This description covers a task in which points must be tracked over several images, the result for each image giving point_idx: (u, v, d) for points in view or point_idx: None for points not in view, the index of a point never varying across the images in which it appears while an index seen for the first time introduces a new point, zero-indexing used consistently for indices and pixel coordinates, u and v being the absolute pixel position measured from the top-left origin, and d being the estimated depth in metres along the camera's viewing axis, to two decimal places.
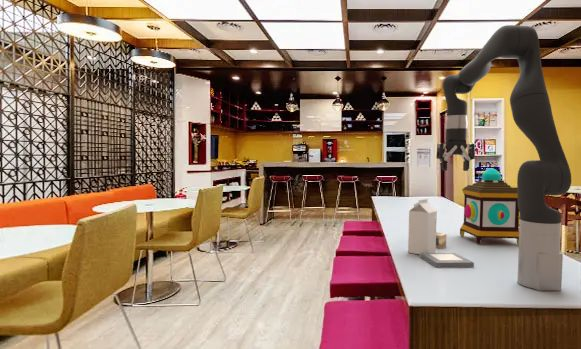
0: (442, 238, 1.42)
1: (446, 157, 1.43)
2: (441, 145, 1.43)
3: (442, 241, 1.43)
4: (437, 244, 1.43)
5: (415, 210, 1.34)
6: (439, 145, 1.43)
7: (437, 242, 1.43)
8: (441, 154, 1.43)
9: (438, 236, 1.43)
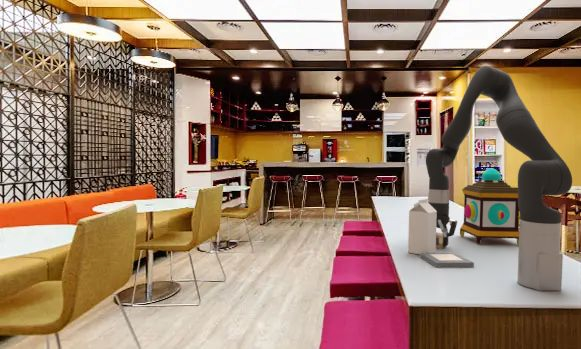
0: (442, 238, 1.42)
1: None
2: None
3: (442, 241, 1.43)
4: (437, 244, 1.43)
5: (415, 210, 1.34)
6: (456, 223, 1.41)
7: (437, 242, 1.43)
8: None
9: (438, 236, 1.43)
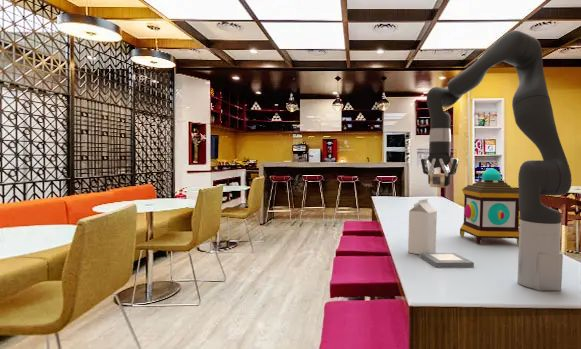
0: (444, 177, 1.42)
1: None
2: None
3: (444, 180, 1.42)
4: (439, 183, 1.42)
5: (415, 210, 1.34)
6: (457, 161, 1.40)
7: (439, 181, 1.42)
8: None
9: (440, 175, 1.42)
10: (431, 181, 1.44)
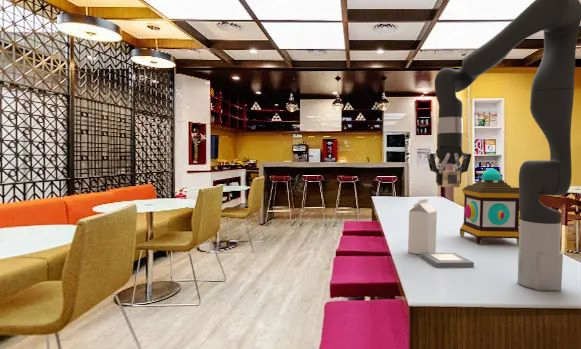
0: None
1: None
2: None
3: None
4: (455, 182, 1.20)
5: (415, 210, 1.34)
6: None
7: (455, 179, 1.20)
8: None
9: (456, 172, 1.20)
10: (446, 180, 1.20)
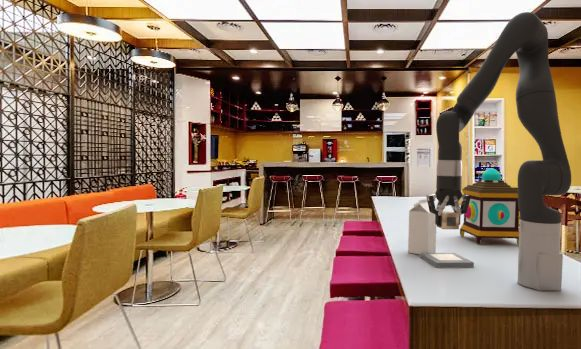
0: None
1: None
2: None
3: None
4: (454, 224, 1.21)
5: (415, 210, 1.34)
6: None
7: (454, 222, 1.21)
8: None
9: (455, 215, 1.21)
10: (445, 222, 1.21)
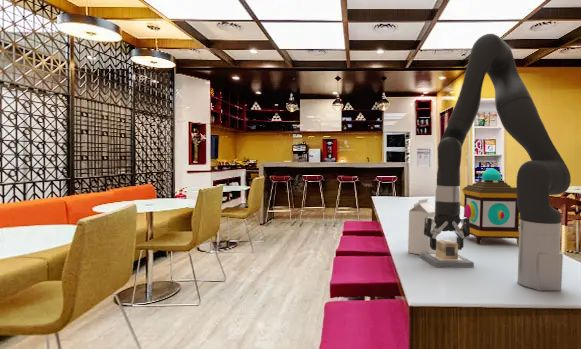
0: None
1: None
2: None
3: None
4: (453, 254, 1.21)
5: (415, 210, 1.34)
6: None
7: (453, 252, 1.21)
8: None
9: (454, 244, 1.21)
10: (444, 252, 1.21)
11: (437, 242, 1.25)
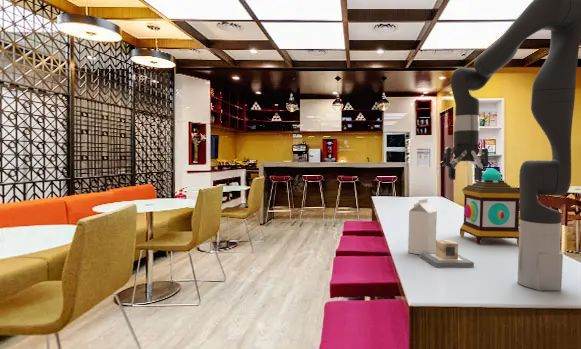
0: None
1: None
2: None
3: None
4: (453, 254, 1.21)
5: (415, 210, 1.34)
6: None
7: (453, 252, 1.21)
8: None
9: (454, 244, 1.21)
10: (444, 252, 1.21)
11: (437, 242, 1.25)
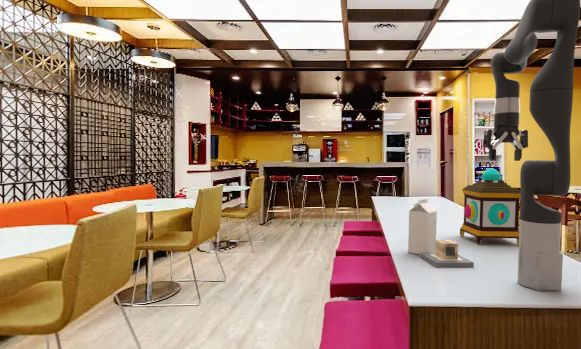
0: None
1: None
2: None
3: None
4: (453, 254, 1.21)
5: (415, 210, 1.34)
6: None
7: (453, 252, 1.21)
8: None
9: (454, 244, 1.21)
10: (444, 252, 1.21)
11: (437, 242, 1.25)
